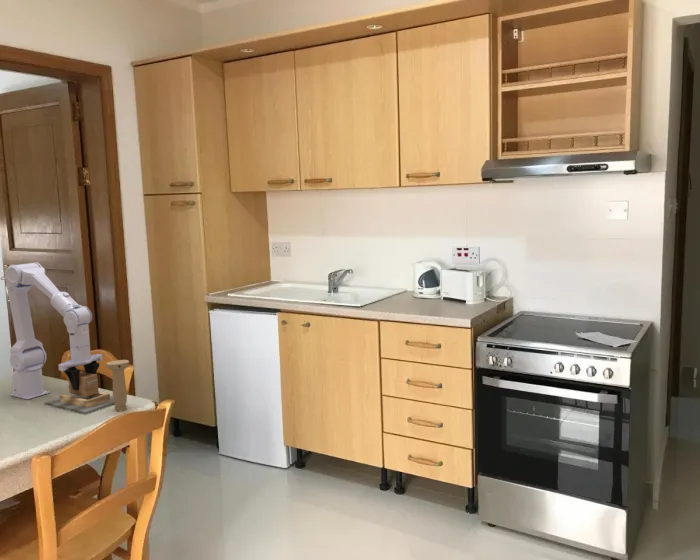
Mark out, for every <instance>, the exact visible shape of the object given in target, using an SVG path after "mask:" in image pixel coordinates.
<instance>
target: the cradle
mask: <svg viewBox="0 0 700 560" xmlns="http://www.w3.org/2000/svg"><path fill="white" fill-rule="evenodd" d="M113 404H114V400H113V395H111V394H110V393H108V392H102V391H99V390H98V393H97V394H93V395H90V396H87V397H84V396H79V395H75V394H71V393H69V394H63V393H62V394H60V395H59V397H57V398H53V399H50V400H46V401H44V405H45V406H48V407H49V406H50V407H54V408H57V407H58V408H57V409H61V408H62V410H65V409H67V410H66V411H69V410H70V411H69V412H73V411H74V413H77V412H78V414H81V413H82V414H81V415H85V414H86V415H88V413H89V414H91V413H95V412H98V411H99V409H100V410H103V409H106V408H108V407H111V406H114V405H113ZM110 405H111V406H110ZM107 406H108V407H107ZM105 407H106V408H105ZM102 408H103V409H102Z"/></svg>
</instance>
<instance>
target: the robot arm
mask: <svg viewBox="0 0 700 560" xmlns="http://www.w3.org/2000/svg"><path fill="white" fill-rule="evenodd" d="M3 273H4V278H5V280H4V281H5V285H6V289H7V293H8V300H9V304H10V305H9V306H10V311H11V315H12V320H13V321H12V323H13V328H14V332H15V333H14V334H15V338H16V339H15V340H16V341H15V343H14V344H13V345H12V347H11V348H10V349H9V350H10V357H9V362H10V363H9V364H10V367H11V368H12V369H13V370H14V371H13V372H12V374H11V375H12V376H11V382H12V393H10V396H11V397H12V396H13V397H15V398H19V399H25V400H31V399H34V398H38V397H40V396H44V395H46V394H50V391H48V390H44V384H43V383H44V381H43V380H44V379H43V370H42V369H43V367H44V364H45V363H46V361H47V352H46V351H45V349H44V344H43V342H41V341H40V340H38V339H36V336H35V331H34V326H33V318H32V313H31V308H30V303H29V297H28V292H29V290H30V289H31V288H32V287H34V286H35V287H36V288H37V289H38V290H40V291H41V292H42V293H43V294H44V295H46V296H47V297H48V298H49V299H50V305H51V306H52V307H53V308H54V309H55V310H56V311H57V312H58V313H59V314H60V315H61V316H62V317H63V323H64V325H65V326H66V331H67V333H68V335H69V349H70V360H66V361H64V362H62V363H59V364H58V371H60V372H64V374H65V375H66V376H67V378H69V380H70V382H71V385H72V388H73V390H79V374H80V371H81V369H78V368H77V367H80V366H83V369H84V372H87V373H92V374H97V372H98V369H99V367H100V363H99V362H102V361H103V360H104V358H103V354H100V353H96V354H91V343H90V342H91V341H90V330H89V329H90V327H89V324H90V323H91V322H92V320H93V313H92V312H91V309H89V307H88V306H85V305H83V306H82V305H81V304H78V302H76V301H75V300H74V298H72V297H71V296H70V294H69V293H68V292H67V291H60V289H58V287H57V286H56V285H55V284H54V283H53V282H52V281H51V279H50V278H49V277H48V276H47V275H46V269H45V268H44V267H43V266H42V265H41V264H40V262H36V261H35V262H34V261H33V262H30V263H21V264H20V263H19V264H10V265H9V266H8V267H7V268H6V269H5V271H4V272H3Z"/></svg>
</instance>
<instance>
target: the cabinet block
mask: <svg viewBox="0 0 700 560" xmlns="http://www.w3.org/2000/svg"><path fill="white" fill-rule="evenodd" d="M67 378H68V377H67ZM67 381H68V393H69V394H75V395H79V396H84V397H87V396H90V395H93V394H97V393H98V391H99V380H98V374H97V373H96V374H92V373H87V372H85V371H81V370H80V374H79V390H73V388H72V385H71V382H70V380H69V378H68V379H67Z"/></svg>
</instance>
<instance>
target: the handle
mask: <svg viewBox="0 0 700 560" xmlns="http://www.w3.org/2000/svg"><path fill="white" fill-rule="evenodd" d="M129 366H130V361H129V360H128V359H118V360H112V361H107V362H106V368H107V369H109V370H111V373H112V396H113V400H114V405H113V406H114V409H115V411H116V412H123V411H125V410H127V399H128V395H127V394H128V393H127V392H128V391H127V385H126V377H125V376H126V375H125V369H126V368H128V367H129Z"/></svg>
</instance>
